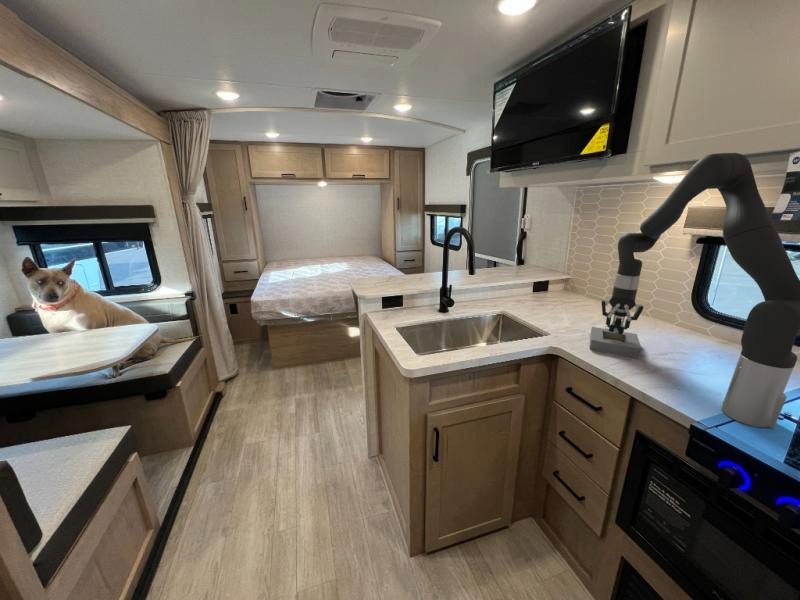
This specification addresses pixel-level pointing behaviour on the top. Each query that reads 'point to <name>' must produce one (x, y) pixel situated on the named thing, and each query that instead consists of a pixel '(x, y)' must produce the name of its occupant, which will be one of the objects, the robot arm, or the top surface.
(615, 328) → the push button
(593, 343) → the housing
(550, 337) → the top surface
